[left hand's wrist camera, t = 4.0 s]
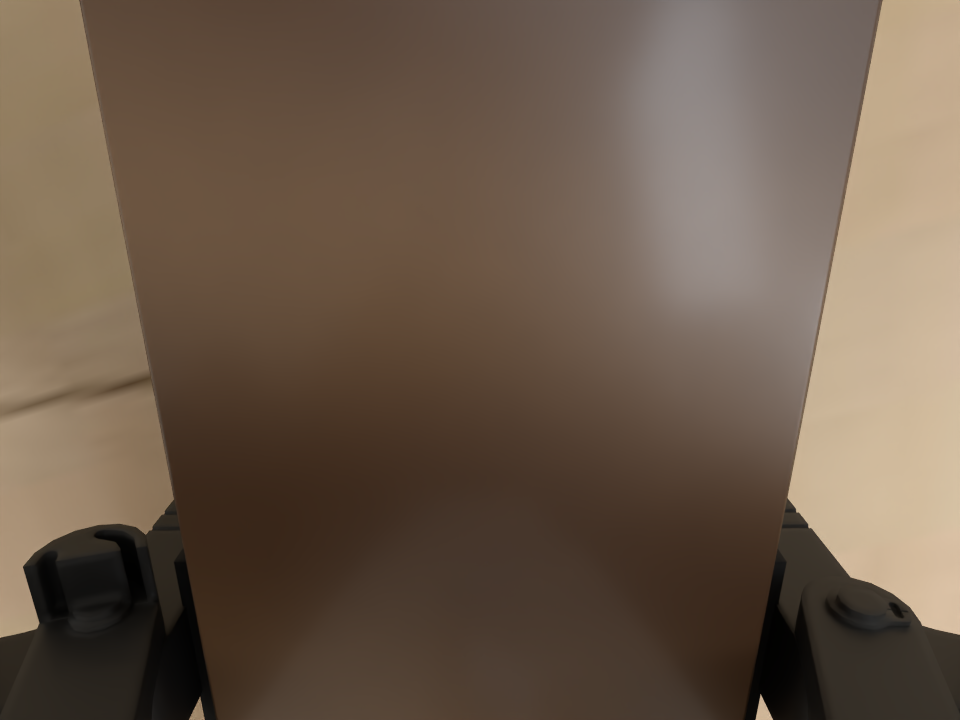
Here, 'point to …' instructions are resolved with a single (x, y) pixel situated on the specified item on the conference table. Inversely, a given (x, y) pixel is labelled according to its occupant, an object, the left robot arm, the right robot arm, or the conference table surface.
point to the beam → (480, 335)
